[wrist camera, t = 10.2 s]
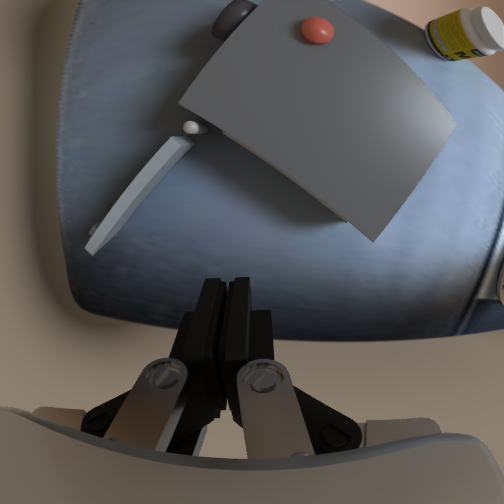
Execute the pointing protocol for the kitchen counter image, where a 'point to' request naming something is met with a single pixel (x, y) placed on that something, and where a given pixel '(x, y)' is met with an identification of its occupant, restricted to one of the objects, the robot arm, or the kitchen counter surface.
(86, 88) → the kitchen counter surface
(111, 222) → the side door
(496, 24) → the supplement bottle
